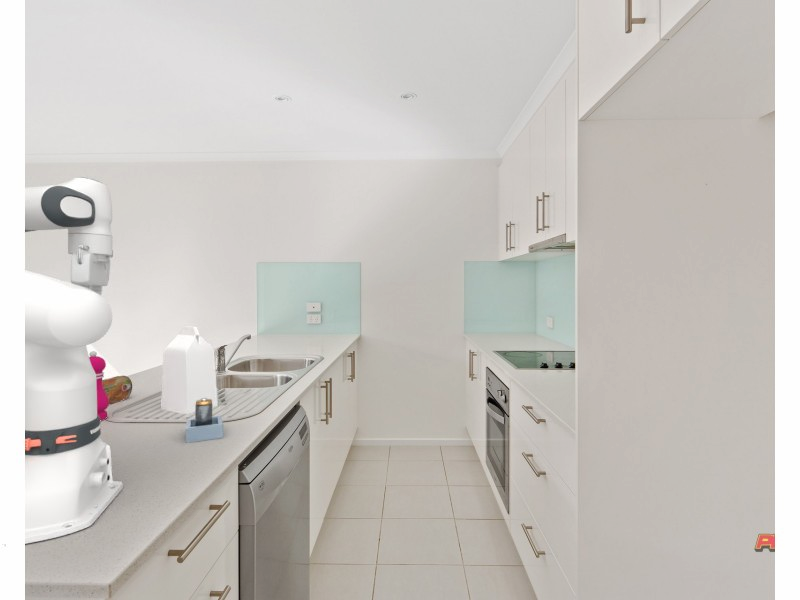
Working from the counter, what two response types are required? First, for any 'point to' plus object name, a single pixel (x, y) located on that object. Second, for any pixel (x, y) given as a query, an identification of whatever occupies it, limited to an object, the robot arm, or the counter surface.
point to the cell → (203, 412)
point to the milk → (188, 372)
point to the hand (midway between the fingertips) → (91, 304)
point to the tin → (117, 388)
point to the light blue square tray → (204, 430)
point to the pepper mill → (99, 384)
